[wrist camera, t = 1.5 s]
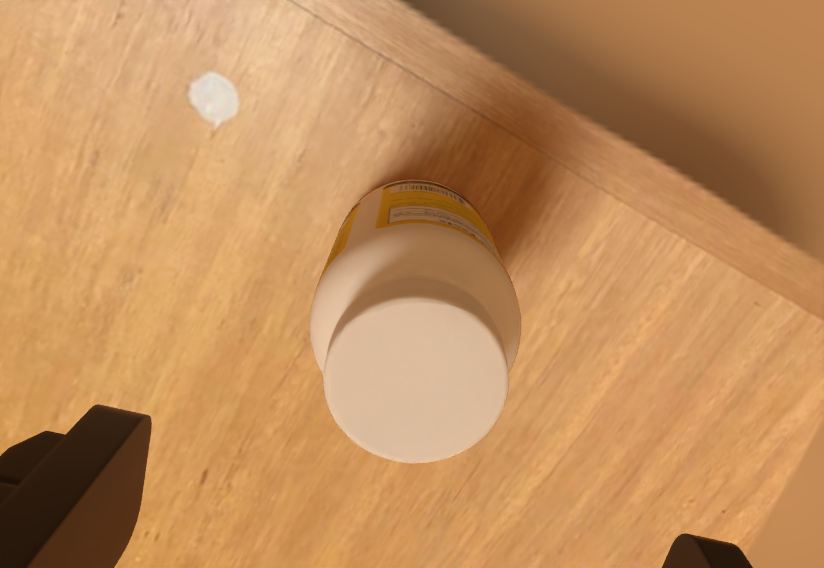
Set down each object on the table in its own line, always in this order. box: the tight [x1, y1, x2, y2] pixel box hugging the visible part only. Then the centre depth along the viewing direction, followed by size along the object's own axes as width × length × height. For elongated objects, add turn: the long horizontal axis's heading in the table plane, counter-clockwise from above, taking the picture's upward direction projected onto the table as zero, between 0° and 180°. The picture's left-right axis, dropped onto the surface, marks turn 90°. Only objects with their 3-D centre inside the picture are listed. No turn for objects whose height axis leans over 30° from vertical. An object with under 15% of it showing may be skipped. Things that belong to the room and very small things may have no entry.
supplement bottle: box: [309, 180, 521, 463], centre depth 19 cm, size 5×5×10 cm
